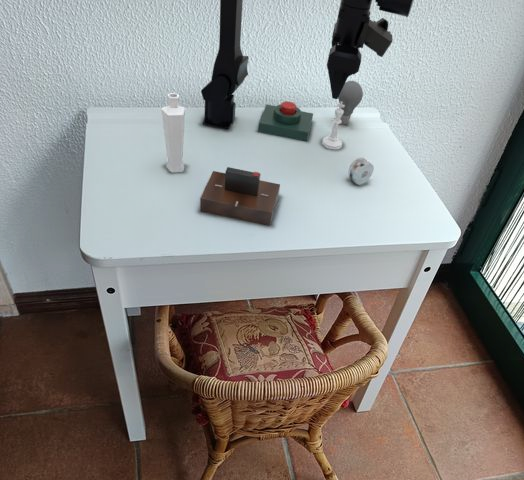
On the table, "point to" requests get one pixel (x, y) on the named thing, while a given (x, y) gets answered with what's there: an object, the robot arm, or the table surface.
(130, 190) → the table surface
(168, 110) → the perfume bottle
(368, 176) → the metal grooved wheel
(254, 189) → the knob
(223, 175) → the panel
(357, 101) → the light bulb
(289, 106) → the button
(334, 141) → the chess piece
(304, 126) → the button box
